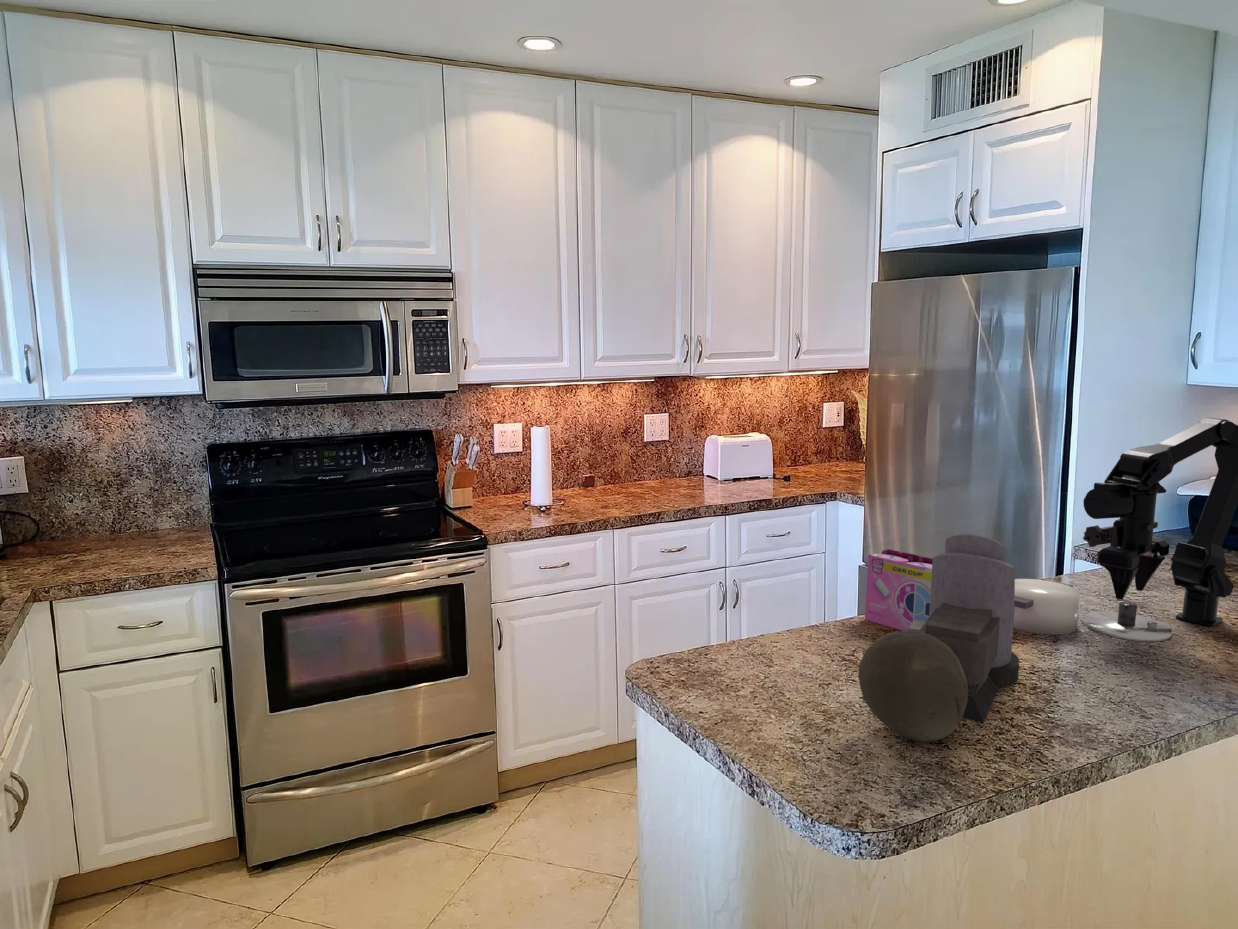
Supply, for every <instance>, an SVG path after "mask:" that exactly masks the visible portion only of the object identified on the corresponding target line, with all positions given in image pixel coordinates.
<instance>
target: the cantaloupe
mask: <svg viewBox="0 0 1238 929" xmlns="http://www.w3.org/2000/svg"><path fill="white" fill-rule="evenodd" d="M858 681H859V687H860V690H861V694H862V698H863V700H864V702H865V703H866V705H867V707H868V708H869V710H870V711H871V712H872V713H873V714H874V716H875V717H876V718H877V719H879V720H878V721H880V722H882V724H883V725H885V727H887V728H888V729H890V730H891V731H893V732H894V733H897V734H898V735H900V736H903V737H904V738H907V739H910V740H912V741H916V742H923V743H928V742H929V743H931V742H935V741H940V740H941V739H944V738H947V737H948V736H950V735H951V734H952V733H954V731H956V729H957V728H958V726H959V725H960V723H961V721H962V719H963V718H962V716H963V714H964V711H965V708H966V704H967V701H968V685H967V680H966V677H965V673H964V671H963V668H962V666H961V663H960V661H959V659H958V658H957V656H956V655H955V654H954V652H953V651H952V650H951V649H950V647H949V646H947V645H946V644H945V643H943V642H941V641H940V640H938V639H937V638H935V637H933V636H931V635H929V634H925V633H922V632H916V631H901V630H899V631H892V632H888V633H886V634H884V635H883V636H881V637H879V638H878V639H876V640H875V641H874V642H872V643H871V645H869V646H868V648H866V650H865V652H864V654H863V656H862V657H861V660H860V662H859V665H858Z"/></svg>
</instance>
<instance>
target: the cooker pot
mask: <svg viewBox="0 0 1238 929" xmlns="http://www.w3.org/2000/svg"><path fill="white" fill-rule="evenodd" d="M1073 586H1074V585H1072V584H1067V583H1063V582H1059V581H1054V580H1053V581H1050V580H1045V579H1035V578H1015V597H1014V606H1015V611H1014V624H1013V627H1014V628H1013V629H1016V630H1019V631H1023V632H1028V633H1033V634H1039V635H1040V634H1041V635H1048V636H1049V635H1050V636H1051V635H1052V636H1054V635H1055V636H1056V635H1057V636H1058V635H1069V634H1073V633H1074V632H1077V630H1078V624H1079V612H1080V602H1081V592H1080V590H1078V589H1077V588H1075V587H1073ZM1072 632H1073V633H1072Z"/></svg>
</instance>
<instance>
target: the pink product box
mask: <svg viewBox="0 0 1238 929" xmlns="http://www.w3.org/2000/svg"><path fill="white" fill-rule="evenodd" d="M866 555H867V562H866V564H867V566H866V567H867V568H866V570H867V571H866V572H867V573H866V574H867V575H866V587H865V588H866V589H865V590H866V591H865V603H864V606H865V607H864V610H865V611H864V620H865V621H869V622H871V623H872V622H873V623H876V624H879V625H882V626H885V627H889V628H892V629H896V630H899V631H907V630H908V627H909V626H910V625H911V624H912V622H913V621H914V620H925V621H927V620H928V619H929V609H930V593H931V576H932V562H933V557H929V556H923V555H920V554H919V555H918V554H914V553H910V552H909V553H908V552H904V551H900V550H894V549H889V548H885V549H883V550H881V553H873V554H872V555H871V554H870V553H867V554H866Z"/></svg>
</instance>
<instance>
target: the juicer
mask: <svg viewBox="0 0 1238 929" xmlns="http://www.w3.org/2000/svg"><path fill="white" fill-rule="evenodd" d="M932 558H933V562H932V576H931V593H930V609H929V619H928V620H927V621H925V620H914V621H913V622H912V624H911V625H910V626H909V627H908V630H907V631H916V632H922V633H925V634H929V635H931V636H933V637H935V638H937V639H938V640H940V641H941V642H943V643H945V644H946V645H947V646H949V647H950V649H951V650H952V651H953V652H954V654H955V655H956V656H957V658H958V659H959V661H960V663H961V666H962V668H963V671H964V673H965V677H966V680H967V685H968V701H967V704H966V708H965V711H964V714H963V716H962V719H965V720H969V721H973V722H978V723H982V724H984V723H985V721H986V719H987V717H988V715H989V713H990V709H991V707H992V705H993V703H994V700H995V698H996V695H997V693H998V691H999V689H1000V688H1004V687H1005V688H1006V687H1009V686H1012V685H1014V684H1016V683H1017V682H1018V679H1019V670H1020V658H1019V657H1018V655H1017V654H1015V653H1014V652H1013V651H1012V646H1013V638H1014V637H1013V634H1014V628H1013V624H1014V611H1015V606H1014V597H1015V579H1016V577H1015V576H1016V574H1015V573H1016V572H1015V571H1016V570H1015V568H1014V567H1013V565H1012V564H1010V563H1008V562H1007V561H1006V560H1007V549H1006V547H1005V546H1004V545H1003V544H1002V543H1001V542H999V541H997V540H994V539H992V538H989V537H986V536H982V535H977V534H970V533H969V534H968V533H959V534H953V535H950V536H948V537H947V538H946V539H945V544H944V552H942V553H937V554H936V555H935V556H934V557H932Z"/></svg>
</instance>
